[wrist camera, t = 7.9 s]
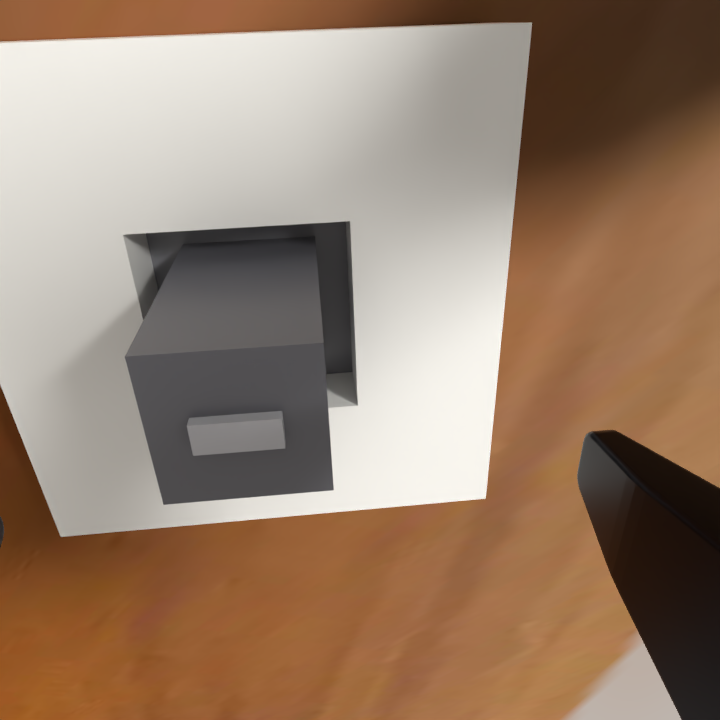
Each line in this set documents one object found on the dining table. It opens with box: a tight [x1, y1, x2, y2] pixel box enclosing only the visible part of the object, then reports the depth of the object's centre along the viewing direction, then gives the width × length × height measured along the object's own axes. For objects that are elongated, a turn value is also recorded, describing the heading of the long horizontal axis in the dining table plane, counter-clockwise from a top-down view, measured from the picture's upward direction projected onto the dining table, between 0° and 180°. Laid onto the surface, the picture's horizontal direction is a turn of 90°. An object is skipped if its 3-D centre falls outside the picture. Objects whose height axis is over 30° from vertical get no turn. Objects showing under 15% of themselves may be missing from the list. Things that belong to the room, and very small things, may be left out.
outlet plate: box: [0, 23, 532, 537], centre depth 19 cm, size 15×15×3 cm
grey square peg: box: [125, 236, 334, 505], centre depth 16 cm, size 4×4×7 cm
